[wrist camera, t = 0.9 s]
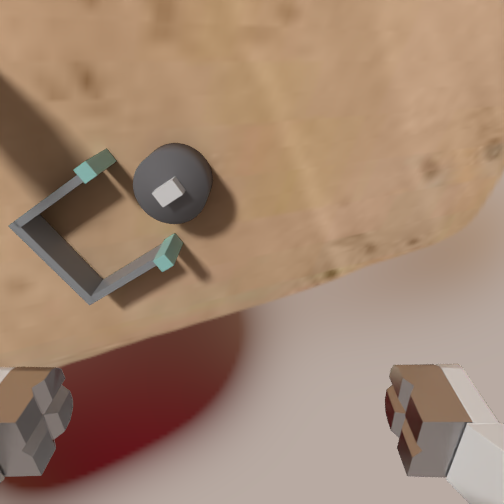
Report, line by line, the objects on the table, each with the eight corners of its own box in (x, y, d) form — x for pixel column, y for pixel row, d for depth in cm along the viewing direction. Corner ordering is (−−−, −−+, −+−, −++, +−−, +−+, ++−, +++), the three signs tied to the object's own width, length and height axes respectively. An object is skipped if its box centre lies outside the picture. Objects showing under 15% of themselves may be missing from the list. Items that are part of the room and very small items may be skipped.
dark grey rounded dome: (184, 128, 36) (173, 139, 31) (225, 187, 38) (220, 205, 34) (131, 167, 38) (112, 182, 33) (173, 220, 40) (162, 241, 36)
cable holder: (106, 148, 37) (85, 161, 32) (183, 243, 42) (173, 265, 37) (24, 209, 40) (-6, 228, 36) (104, 290, 45) (86, 316, 40)
